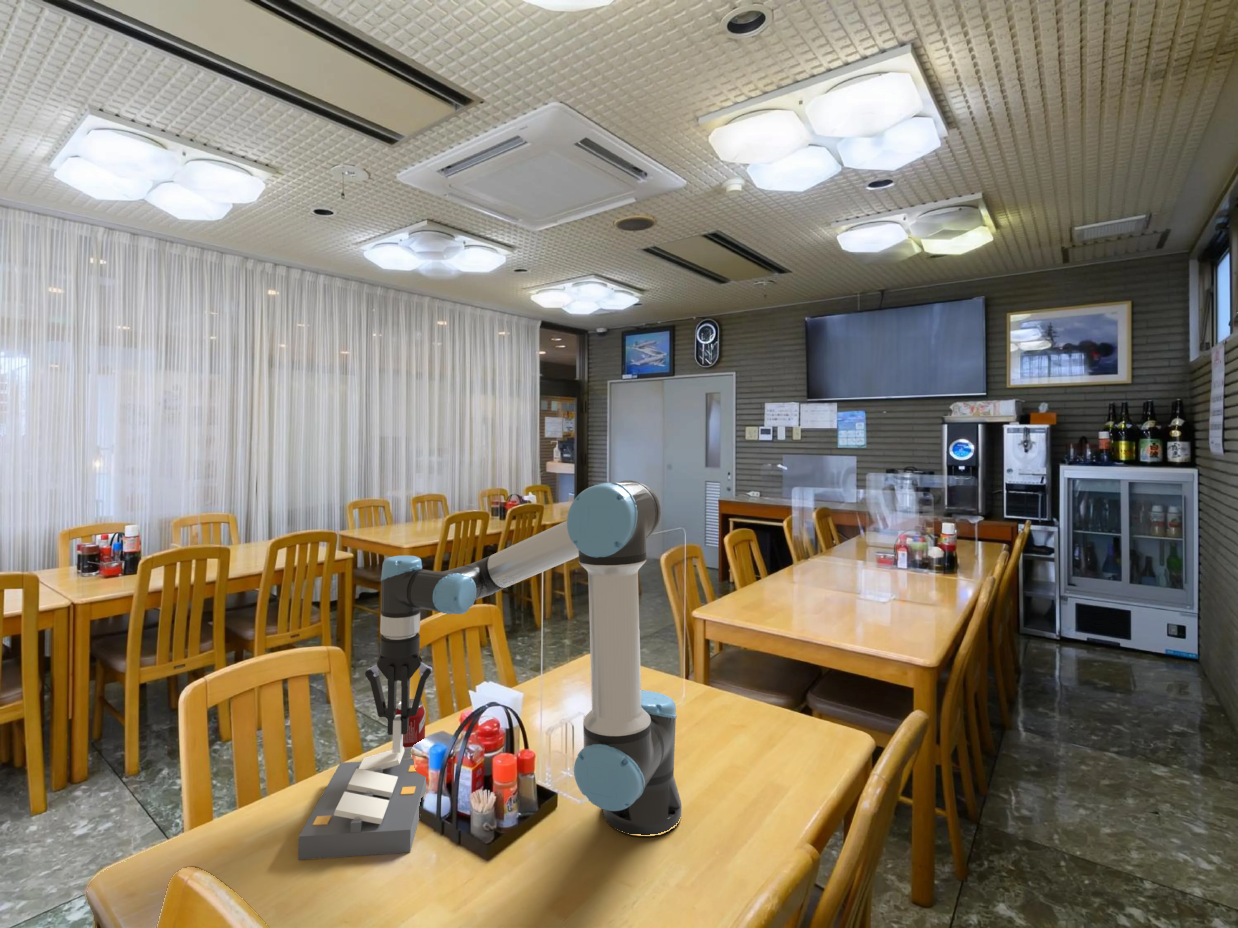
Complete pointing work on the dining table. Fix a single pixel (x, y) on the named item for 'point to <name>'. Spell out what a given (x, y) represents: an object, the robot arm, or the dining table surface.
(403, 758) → the soda can
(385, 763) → the far switch
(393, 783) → the middle switch
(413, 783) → the switch unit
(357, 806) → the near switch
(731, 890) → the dining table surface
